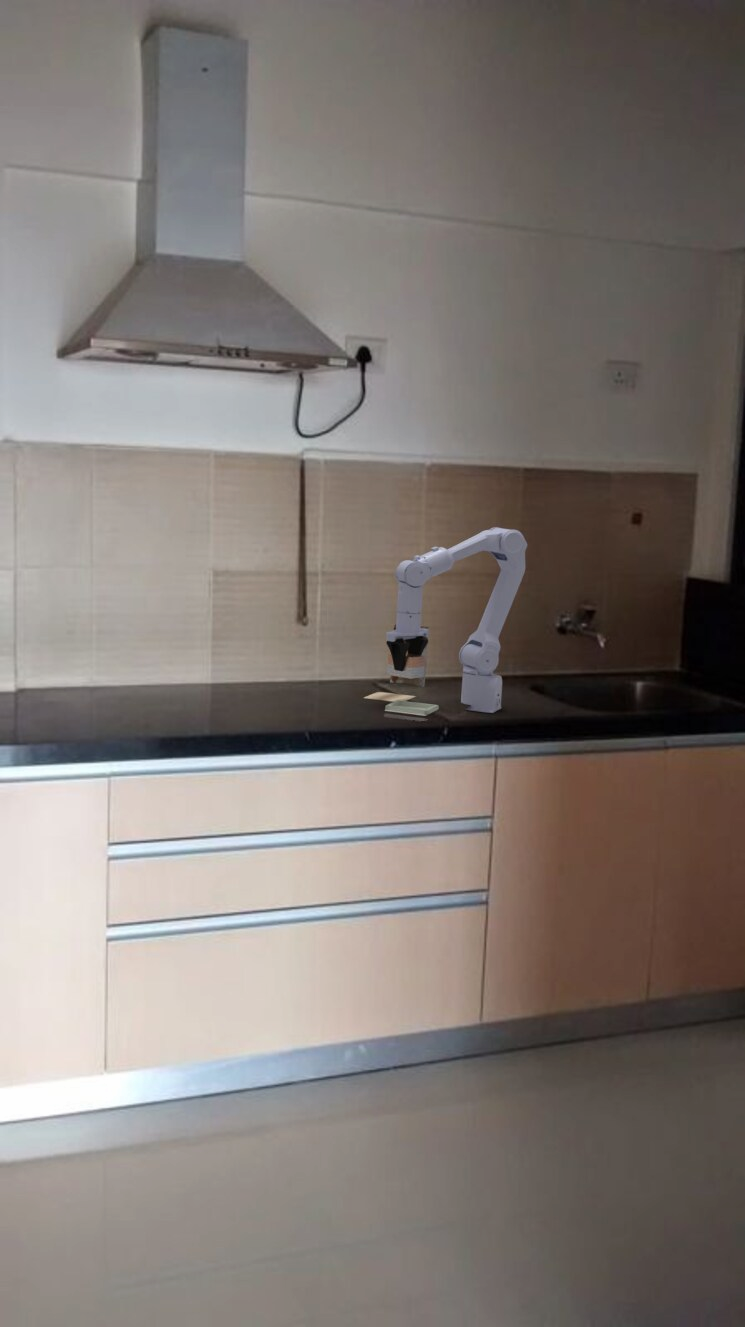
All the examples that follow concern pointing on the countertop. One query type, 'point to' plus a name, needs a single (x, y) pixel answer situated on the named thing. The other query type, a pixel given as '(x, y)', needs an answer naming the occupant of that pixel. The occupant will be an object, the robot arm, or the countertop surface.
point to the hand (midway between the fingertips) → (405, 669)
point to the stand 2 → (410, 709)
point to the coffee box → (414, 681)
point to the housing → (408, 666)
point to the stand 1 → (389, 696)
